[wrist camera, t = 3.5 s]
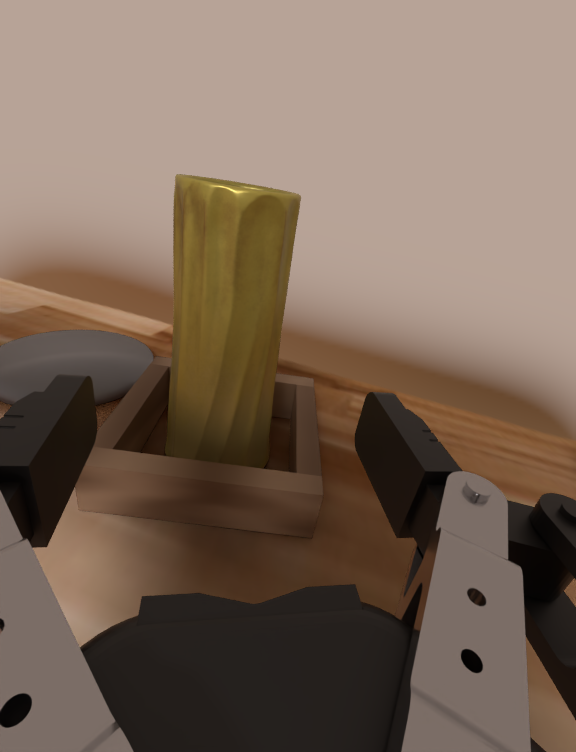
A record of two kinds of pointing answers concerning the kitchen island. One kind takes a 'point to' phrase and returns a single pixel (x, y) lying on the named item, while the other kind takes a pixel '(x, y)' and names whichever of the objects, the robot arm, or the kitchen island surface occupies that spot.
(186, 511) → the square wooden tray
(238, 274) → the vase
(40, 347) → the coaster
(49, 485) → the robot arm
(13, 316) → the kitchen island surface
